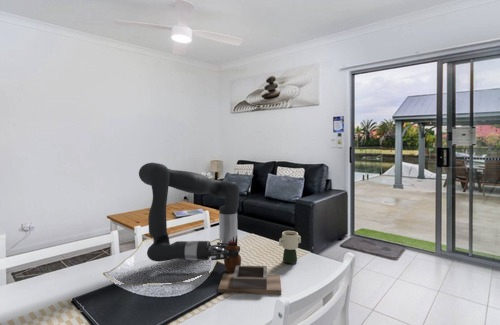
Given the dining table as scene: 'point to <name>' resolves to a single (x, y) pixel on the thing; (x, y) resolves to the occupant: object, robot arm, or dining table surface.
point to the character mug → (290, 246)
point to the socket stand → (250, 281)
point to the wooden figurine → (232, 261)
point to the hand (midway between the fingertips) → (239, 251)
